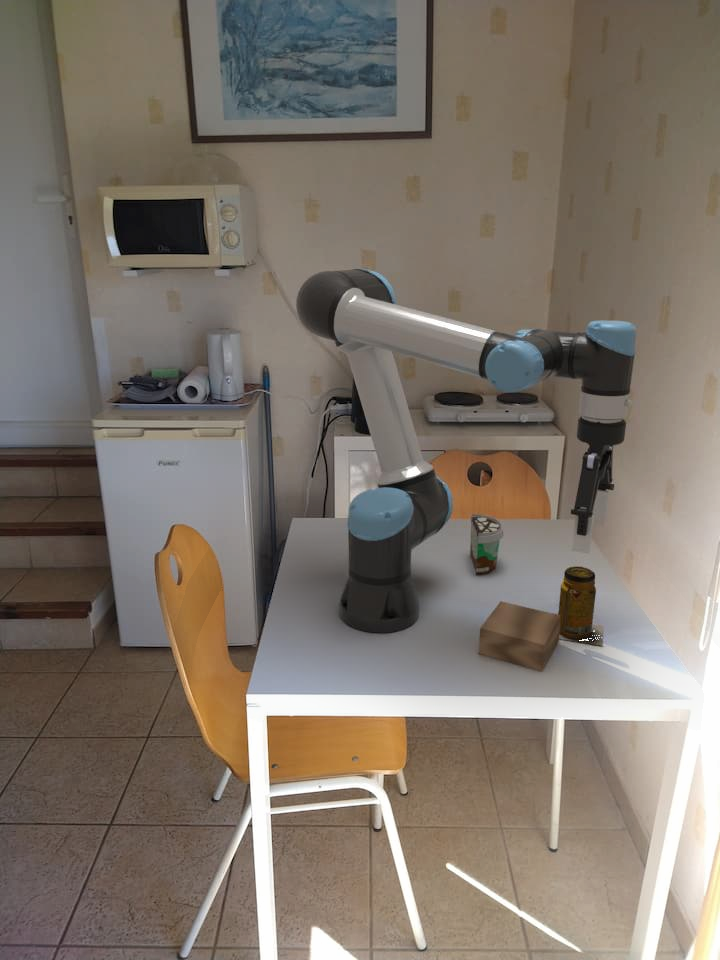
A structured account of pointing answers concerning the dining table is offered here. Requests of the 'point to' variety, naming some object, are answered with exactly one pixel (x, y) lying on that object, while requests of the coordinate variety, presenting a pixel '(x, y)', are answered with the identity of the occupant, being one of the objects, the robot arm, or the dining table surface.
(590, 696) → the dining table surface
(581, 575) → the condiment
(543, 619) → the walnut block
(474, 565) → the food container
